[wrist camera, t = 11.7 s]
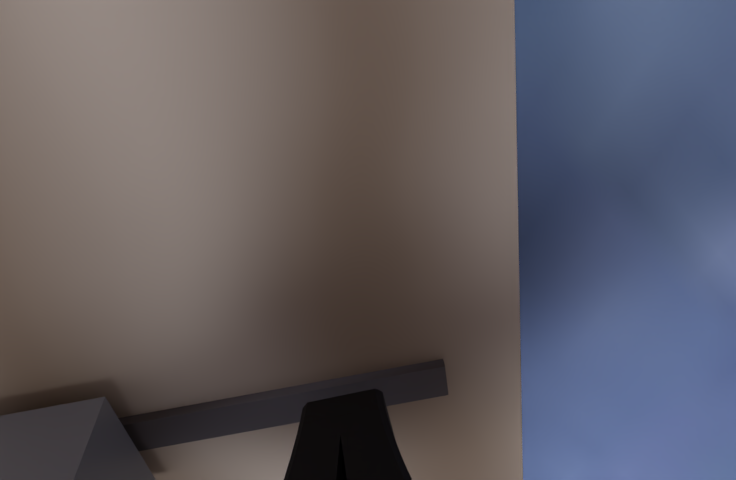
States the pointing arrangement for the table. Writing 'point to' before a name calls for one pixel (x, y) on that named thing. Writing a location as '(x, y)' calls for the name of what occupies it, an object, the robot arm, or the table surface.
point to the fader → (69, 444)
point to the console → (264, 224)
